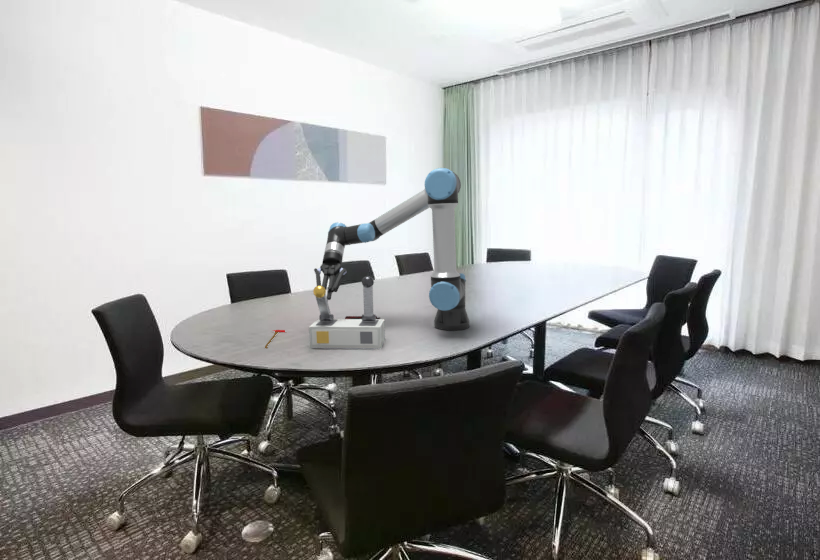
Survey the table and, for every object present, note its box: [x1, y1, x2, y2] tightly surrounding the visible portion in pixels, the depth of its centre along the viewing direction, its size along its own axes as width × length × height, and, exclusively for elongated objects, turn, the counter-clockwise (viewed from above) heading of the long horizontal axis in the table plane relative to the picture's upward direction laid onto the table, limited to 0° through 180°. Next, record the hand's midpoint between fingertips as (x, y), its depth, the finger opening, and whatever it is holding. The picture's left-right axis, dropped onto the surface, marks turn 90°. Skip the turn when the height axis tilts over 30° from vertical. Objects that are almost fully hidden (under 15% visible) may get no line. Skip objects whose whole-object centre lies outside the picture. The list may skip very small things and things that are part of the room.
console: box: [308, 318, 386, 350], centre depth 166 cm, size 26×12×8 cm, turn 85°
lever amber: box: [312, 284, 335, 321], centre depth 161 cm, size 5×4×17 cm
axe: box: [264, 329, 286, 349], centre depth 175 cm, size 26×1×10 cm
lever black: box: [361, 275, 377, 321], centre depth 163 cm, size 5×4×17 cm
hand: (323, 306), depth 164 cm, fingers closed
